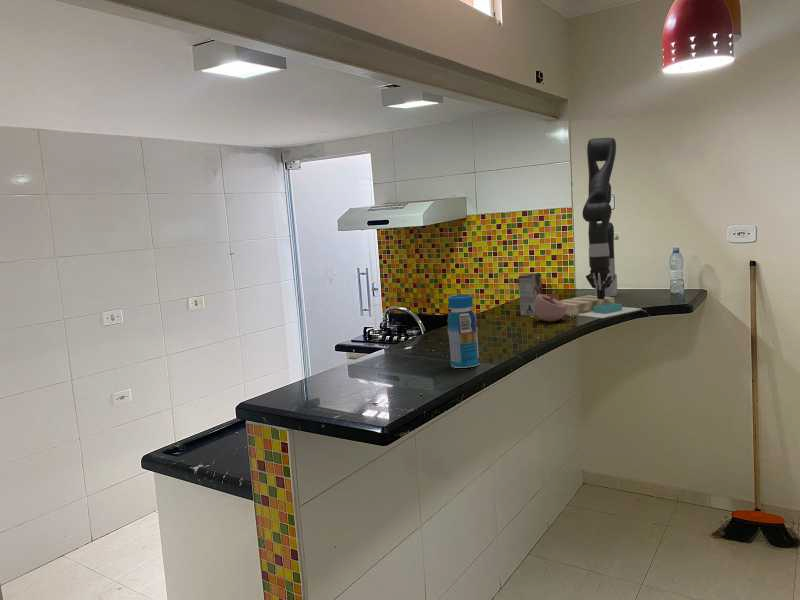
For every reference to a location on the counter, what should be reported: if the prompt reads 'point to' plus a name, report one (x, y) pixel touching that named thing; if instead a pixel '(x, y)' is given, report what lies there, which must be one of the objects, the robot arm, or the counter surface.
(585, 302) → the oak deck
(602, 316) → the white flat panel
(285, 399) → the counter surface
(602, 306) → the teal tile
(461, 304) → the beverage bottle
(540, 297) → the mortar and pestle
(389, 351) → the counter surface
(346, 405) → the counter surface
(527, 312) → the coffee box
